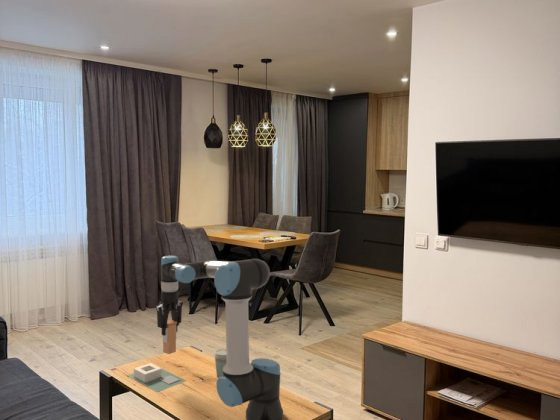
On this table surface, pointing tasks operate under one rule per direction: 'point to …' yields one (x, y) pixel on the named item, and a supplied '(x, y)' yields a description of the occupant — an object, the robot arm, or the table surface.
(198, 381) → the table surface
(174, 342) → the plug
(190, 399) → the table surface
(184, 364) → the table surface
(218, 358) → the coffee cup
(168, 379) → the peg socket board
